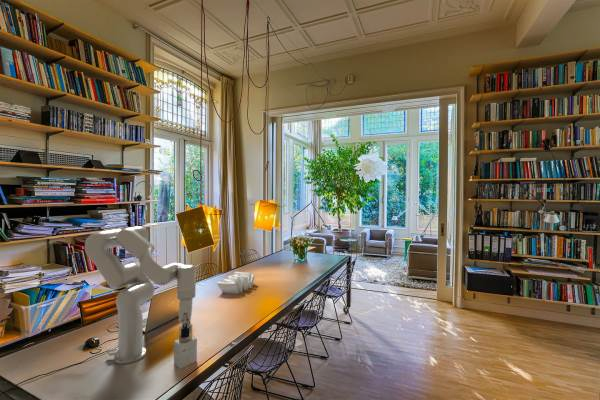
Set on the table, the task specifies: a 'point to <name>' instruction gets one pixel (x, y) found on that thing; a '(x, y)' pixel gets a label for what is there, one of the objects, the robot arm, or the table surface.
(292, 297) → the table surface
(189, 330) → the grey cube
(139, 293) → the robot arm
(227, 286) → the wavy white extrusion
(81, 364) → the table surface
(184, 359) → the small box
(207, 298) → the table surface
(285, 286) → the table surface
